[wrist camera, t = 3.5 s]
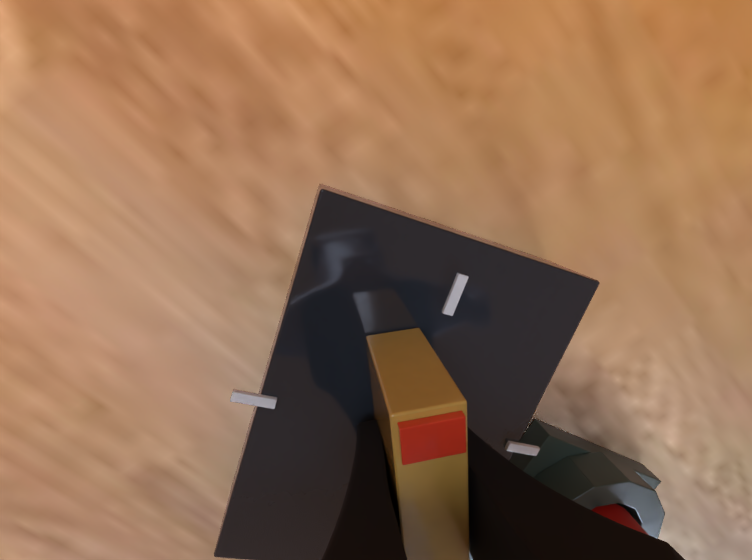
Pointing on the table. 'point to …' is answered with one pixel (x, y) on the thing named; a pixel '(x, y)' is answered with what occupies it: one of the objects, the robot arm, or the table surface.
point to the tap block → (351, 366)
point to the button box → (591, 474)
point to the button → (619, 516)
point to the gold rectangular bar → (422, 444)
